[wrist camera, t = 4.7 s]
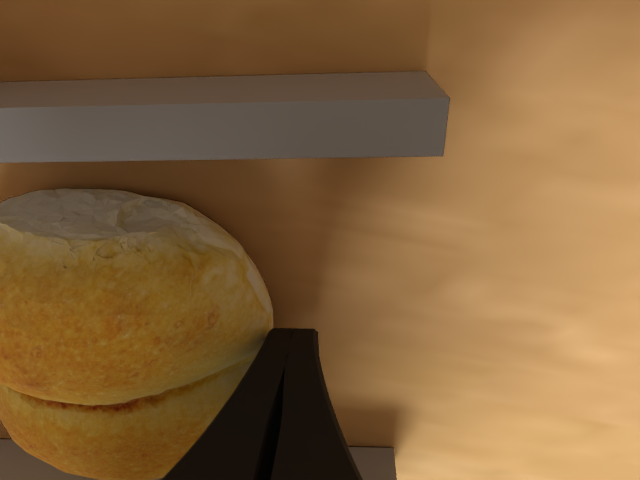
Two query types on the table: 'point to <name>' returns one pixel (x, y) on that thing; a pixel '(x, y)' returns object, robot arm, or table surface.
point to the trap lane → (220, 144)
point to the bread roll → (120, 328)
